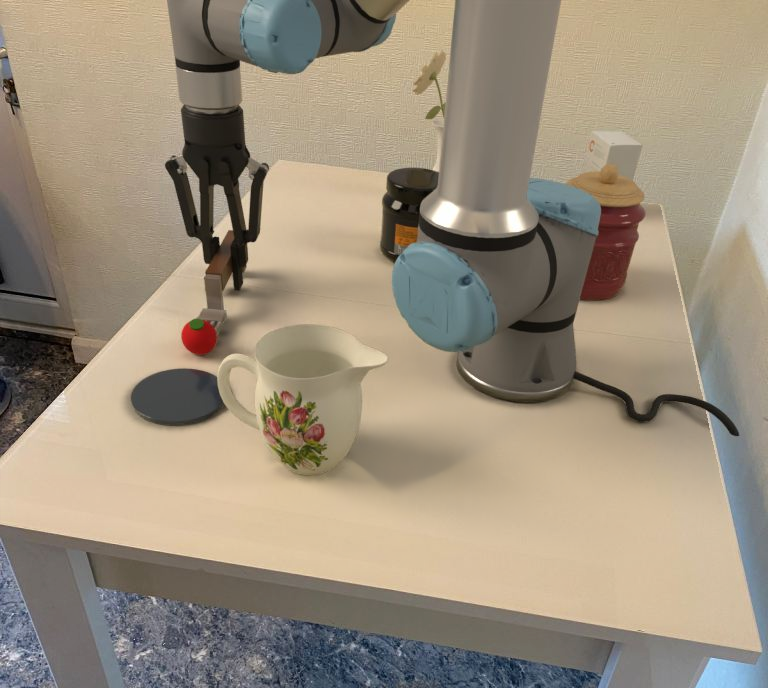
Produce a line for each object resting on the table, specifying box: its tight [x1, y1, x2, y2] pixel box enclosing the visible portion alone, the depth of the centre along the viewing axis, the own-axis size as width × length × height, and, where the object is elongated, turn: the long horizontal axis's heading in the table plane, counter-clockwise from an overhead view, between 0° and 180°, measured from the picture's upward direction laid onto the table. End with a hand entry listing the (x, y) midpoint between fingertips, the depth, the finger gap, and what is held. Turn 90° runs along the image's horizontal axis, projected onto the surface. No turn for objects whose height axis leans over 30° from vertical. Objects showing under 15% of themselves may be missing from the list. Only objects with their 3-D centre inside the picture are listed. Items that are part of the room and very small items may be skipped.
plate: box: [130, 368, 225, 426], centre depth 87 cm, size 11×11×1 cm
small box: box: [581, 130, 643, 181], centre depth 134 cm, size 8×6×13 cm
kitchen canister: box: [565, 164, 646, 301], centre depth 110 cm, size 13×13×18 cm
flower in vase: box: [412, 49, 447, 172], centre depth 127 cm, size 13×11×25 cm
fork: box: [197, 229, 247, 337], centre depth 101 cm, size 21×3×6 cm, turn 176°
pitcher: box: [216, 323, 389, 476], centre depth 76 cm, size 11×18×14 cm, turn 75°
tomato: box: [180, 318, 218, 356], centre depth 93 cm, size 4×4×4 cm
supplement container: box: [379, 167, 439, 263], centre depth 116 cm, size 10×10×12 cm
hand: (228, 285), depth 106 cm, fingers closed on fork, 2 cm apart
